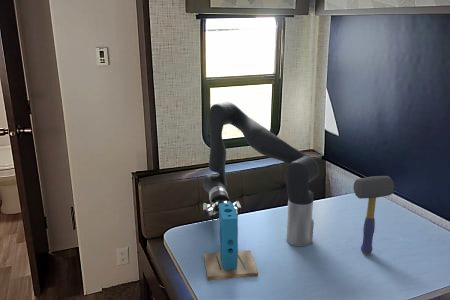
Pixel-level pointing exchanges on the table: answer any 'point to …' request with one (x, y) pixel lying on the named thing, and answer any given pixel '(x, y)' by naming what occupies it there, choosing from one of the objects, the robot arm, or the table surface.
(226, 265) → the block
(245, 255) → the oak board
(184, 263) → the table surface
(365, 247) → the rubber mallet
